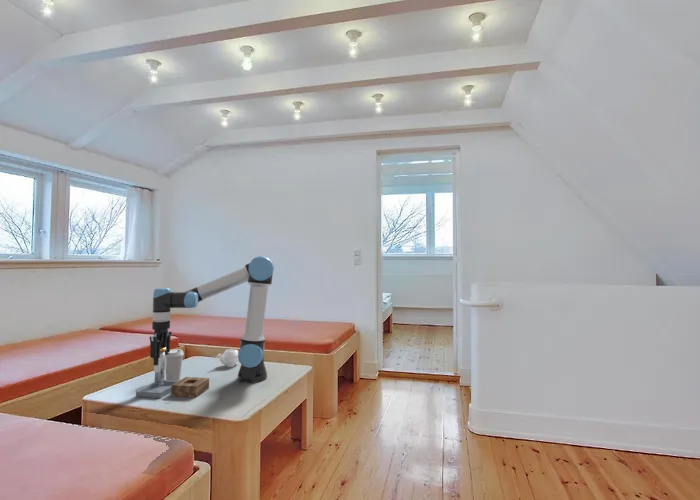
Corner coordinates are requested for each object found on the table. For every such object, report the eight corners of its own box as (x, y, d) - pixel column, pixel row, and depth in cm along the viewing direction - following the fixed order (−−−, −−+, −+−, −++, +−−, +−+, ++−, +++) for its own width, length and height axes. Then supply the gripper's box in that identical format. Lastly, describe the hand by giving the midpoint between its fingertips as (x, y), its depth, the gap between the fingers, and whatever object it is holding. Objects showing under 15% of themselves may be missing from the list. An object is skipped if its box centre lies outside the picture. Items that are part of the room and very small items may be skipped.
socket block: (208, 388, 177) (209, 378, 177) (196, 397, 165) (196, 386, 165) (185, 387, 178) (185, 376, 178) (171, 396, 166) (171, 385, 166)
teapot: (210, 367, 211) (211, 351, 211) (240, 360, 226) (241, 345, 226) (219, 371, 204) (219, 354, 205) (249, 363, 220) (250, 348, 220)
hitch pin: (167, 382, 174) (168, 347, 175) (161, 386, 169) (162, 349, 170) (157, 382, 175) (158, 346, 175) (150, 385, 170) (152, 349, 170)
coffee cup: (175, 384, 182) (175, 353, 183) (158, 382, 184) (159, 352, 185) (187, 378, 192) (188, 349, 192) (171, 376, 194) (172, 348, 194)
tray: (180, 386, 179) (181, 381, 179) (160, 398, 163) (160, 392, 163) (158, 385, 180) (158, 380, 181) (135, 397, 165) (136, 391, 165)
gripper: (164, 317, 182) (163, 364, 181) (141, 323, 165) (140, 375, 164) (179, 318, 181) (177, 365, 180) (157, 323, 164) (155, 376, 163)
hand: (159, 370), depth 172 cm, fingers closed on hitch pin, 4 cm apart
